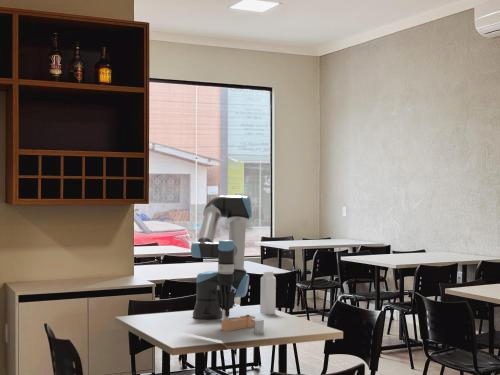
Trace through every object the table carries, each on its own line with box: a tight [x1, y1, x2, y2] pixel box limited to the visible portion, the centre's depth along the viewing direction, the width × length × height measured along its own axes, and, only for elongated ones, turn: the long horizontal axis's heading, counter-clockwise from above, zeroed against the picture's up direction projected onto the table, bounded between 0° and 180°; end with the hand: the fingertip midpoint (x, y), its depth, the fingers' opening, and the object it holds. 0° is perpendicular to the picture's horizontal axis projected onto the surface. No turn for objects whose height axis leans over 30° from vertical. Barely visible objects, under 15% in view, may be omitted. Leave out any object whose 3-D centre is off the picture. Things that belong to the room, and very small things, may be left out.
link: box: [221, 314, 256, 332], centre depth 324 cm, size 18×5×4 cm, turn 138°
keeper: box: [251, 317, 265, 335], centre depth 315 cm, size 5×5×6 cm
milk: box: [259, 271, 277, 315], centre depth 370 cm, size 6×6×22 cm
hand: (225, 323), depth 327 cm, fingers closed
